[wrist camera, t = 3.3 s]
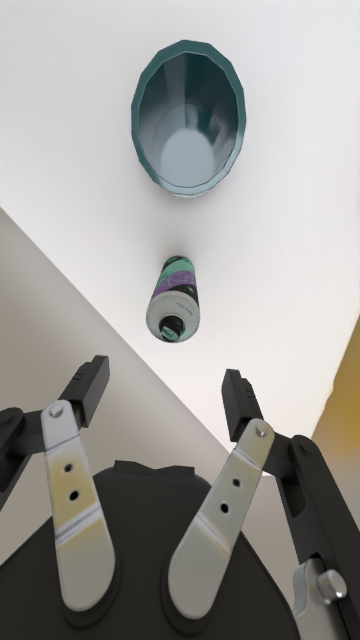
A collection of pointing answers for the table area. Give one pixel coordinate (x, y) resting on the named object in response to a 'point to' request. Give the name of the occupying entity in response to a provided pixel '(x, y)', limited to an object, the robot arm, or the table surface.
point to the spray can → (174, 302)
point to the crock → (188, 118)
